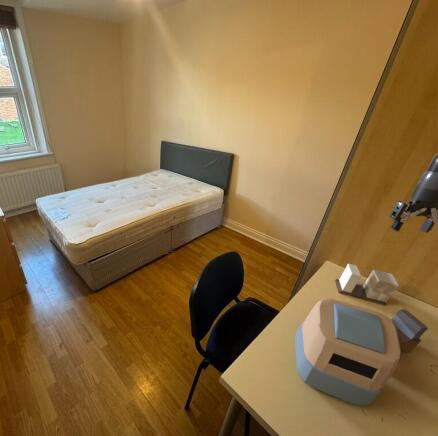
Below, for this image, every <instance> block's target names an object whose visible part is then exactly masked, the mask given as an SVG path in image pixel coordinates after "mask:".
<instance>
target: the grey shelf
mask: <svg viewBox="0 0 438 436" xmlns="http://www.w3.org/2000/svg"><path fill="white" fill-rule="evenodd" d="M390 320H391V321H392V322H393V323H394V325H395V327H396V329H397V334H398V339H399V344H400V350H401V353H400V354H404V353H411V352H412V351H413V350H414V349H416V347H417V346H418V345H419V344H420V343H421V342H422V339H420V338H421V336H423V335H424V333H426V331H428V329H429V327H428V326H427V325H426V324H425V323H423V322H422V321H421V320H420V319H418V318H417V317H416V316H415V315H414V314H413V313H411V312H410V311H408V310H407V309H406V308H401V309H398V310H397V311H396V312H395V314H394V315H393V317H392V318H391V319H390Z"/></svg>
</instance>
